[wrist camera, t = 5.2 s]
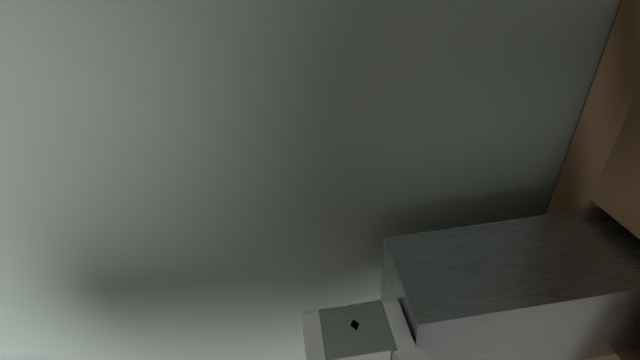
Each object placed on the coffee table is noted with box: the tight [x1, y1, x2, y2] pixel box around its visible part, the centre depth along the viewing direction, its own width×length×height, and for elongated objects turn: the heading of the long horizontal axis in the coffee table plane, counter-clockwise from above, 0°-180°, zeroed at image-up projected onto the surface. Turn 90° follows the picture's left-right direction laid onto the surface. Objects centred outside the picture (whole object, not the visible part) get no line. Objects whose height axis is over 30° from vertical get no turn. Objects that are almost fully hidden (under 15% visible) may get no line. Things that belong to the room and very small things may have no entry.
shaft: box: [381, 207, 640, 360], centre depth 12 cm, size 3×16×3 cm, turn 94°
